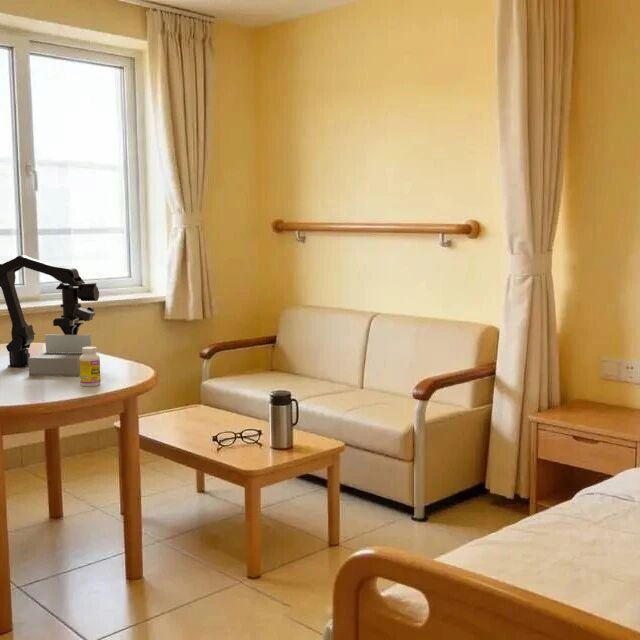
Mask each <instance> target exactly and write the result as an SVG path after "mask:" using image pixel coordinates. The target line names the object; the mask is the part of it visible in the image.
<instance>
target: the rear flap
mask: <svg viewBox="0 0 640 640" xmlns="http://www.w3.org/2000/svg"><path fill="white" fill-rule="evenodd" d="M44 341H45V352H59V353H83V352H82V348H83V347H93V346H92V336H91V334H77V335H65V334H52V333H51V334H48V333H47V334H44Z"/></svg>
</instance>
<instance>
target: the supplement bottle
mask: <svg viewBox="0 0 640 640" xmlns="http://www.w3.org/2000/svg"><path fill="white" fill-rule="evenodd" d="M97 349H98V348H97V347H96V346H92V347H83V348H82V352H83V355H81V356H80V358H79V362H80V375H79V381H80V386H82V387H86V386H87V388H88V387H97V386H99V385H100V384H101V358H100V357H101V356H100V355H99V354H97V351H98V350H97Z"/></svg>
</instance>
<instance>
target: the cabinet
mask: <svg viewBox="0 0 640 640" xmlns="http://www.w3.org/2000/svg"><path fill="white" fill-rule="evenodd" d="M81 355H83V353H63V352H46V351H45V352H43V353H40V354H35V355H33V356H30V357H29V358H28V363H29V365H28V376H30V375H35V377H36V376H39V377H43V376H44V377H45V376H46V377H80V362H79V358H80V356H81Z"/></svg>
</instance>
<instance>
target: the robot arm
mask: <svg viewBox="0 0 640 640" xmlns="http://www.w3.org/2000/svg"><path fill="white" fill-rule="evenodd" d="M22 268H26V269H28V270H33V271H35V272H39V273H42V274H45V275H48V276H50V277H52V278H54V279H55V280H56V281H58V282H60V283H59V285H57V287H55V289H56V290H61V297H62V298H61V299H62V300H61V302H62V303H61V304H60V308H62V315H60V316H59V317H57V318H54V319H53V321H52V324H53V325H52V326H54V327H59V328H60V329H61V331H62V332H63V335H78V332H79V330H80V327H82V326H83V325H84V322H90V321H93V318H94V316H96V312H95V308H94V307H92V306H89V307H86V308H84V307H82V304H81V302H97V301H98V300H99V299H100V291H99V288H98V286H97V282H91V283H86V282H85V280H83V279H82V277H81V276H80V274H79V273H80V272H79V271H78V269H77V268H76V267H70V266H64V265H59V266H58V265H55V264H52V263H48V262H45V261H44V260H43V261H42V260H39V259H36V258H33V257H30V256H28V255H25V254H24V255H17V256H16V257H15V258H13V259H10V260H8V261H6V262H4V263H0V288H1V291H2V294H3V297H4V302H5V304H6V309H7V311H8V315H9V317H10V321H11V324H12V325H11V333H10V334H11V341H9V342H8V344H6V350H7V352H8V354H9V355H8V357H9V364H8V365H7V368H12V367H11V366H16V367H15V368H25V367H28V366H29V363H28V358H29V357H31V353H29V351H30V350H29V348H30V347H31V344H32V343H33V342H34V341H35V335H36V333H35V332H34V329H33V328H34V326H33V325H32V324H28V323H27V322H26V321H25V317H24V313H23V310H22V307H21V303H20V299H19V296H18V293H17V292H18V291H17V289H16V286H15V285H16V277H17V276H16V273H17V272H18V271H20V270H21V269H22ZM79 300H80V301H81V302H79ZM83 321H84V322H83ZM27 365H28V366H27ZM9 366H10V367H9ZM24 366H25V367H24Z"/></svg>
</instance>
